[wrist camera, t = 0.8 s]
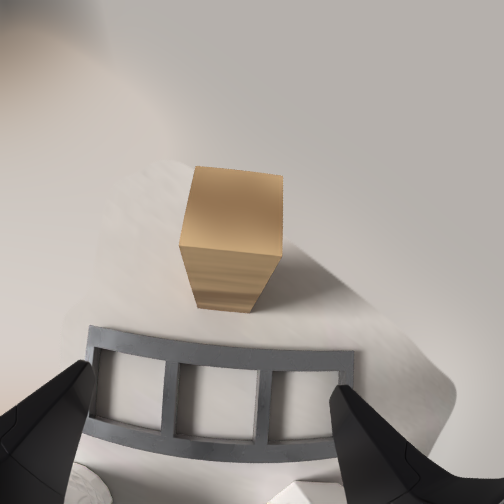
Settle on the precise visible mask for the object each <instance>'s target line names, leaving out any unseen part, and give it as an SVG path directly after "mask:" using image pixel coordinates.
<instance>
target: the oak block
mask: <svg viewBox="0 0 504 504" xmlns="http://www.w3.org/2000/svg"><path fill="white" fill-rule="evenodd" d="M282 239H283V176H280V175H273V174H265V173H258V172H250V171H242V170H232V169H223V168H212V167H200V166H196V167H195V171H194V176H193V180H192V184H191V189H190V193H189V197H188V202H187V207H186V211H185V216H184V221H183V226H182V231H181V236H180V242H179V248H180V251H181V255H182V258H183V262H184V265H185V269H186V272H187V275H188V279H189V282H190V285H191V288H192V292H193V295H194V298H195V301H196V304H197V307H198V308H201V309H210V310H219V311H229V312H240V313H250V311H251V309H252V308H253V306H254V304H255V303H256V301H257V299H258V297H259V296H260V294H261V292H262V291H263V289H264V287H265V285H266V284H267V282H268V280H269V279H270V277H271V275H272V273H273V272H274V270H275V268H276V266H277V265H278V263H279V261H280V259H281V258H282Z"/></svg>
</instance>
